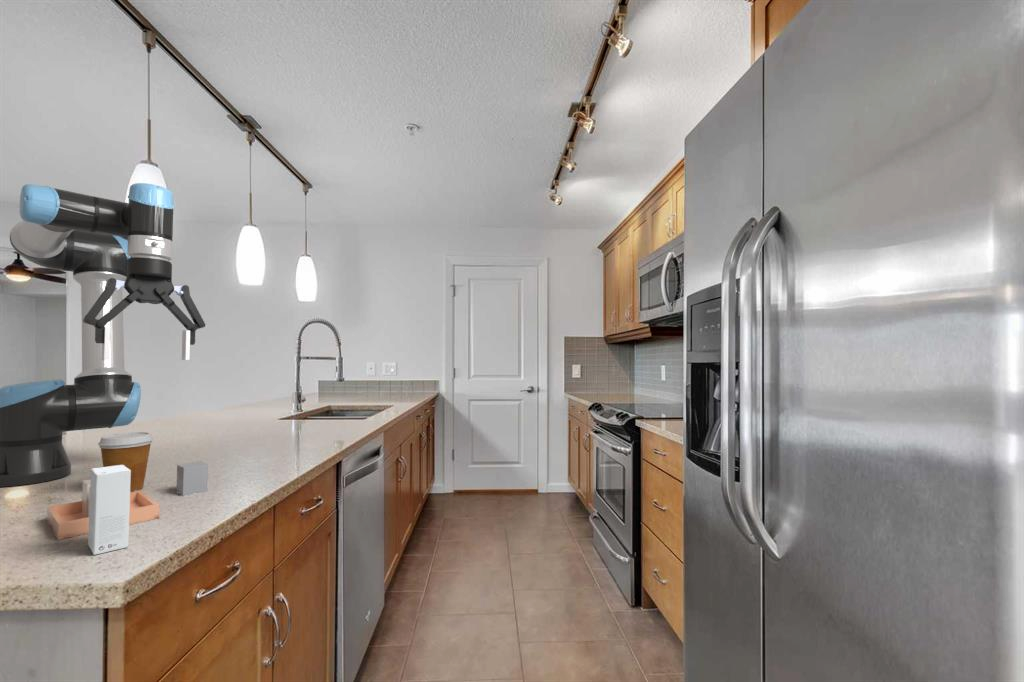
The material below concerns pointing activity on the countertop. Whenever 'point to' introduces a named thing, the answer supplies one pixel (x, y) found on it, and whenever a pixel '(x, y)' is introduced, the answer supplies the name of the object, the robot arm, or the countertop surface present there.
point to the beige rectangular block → (85, 497)
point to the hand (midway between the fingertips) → (147, 360)
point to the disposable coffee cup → (128, 454)
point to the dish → (73, 523)
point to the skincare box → (109, 508)
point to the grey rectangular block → (192, 478)
